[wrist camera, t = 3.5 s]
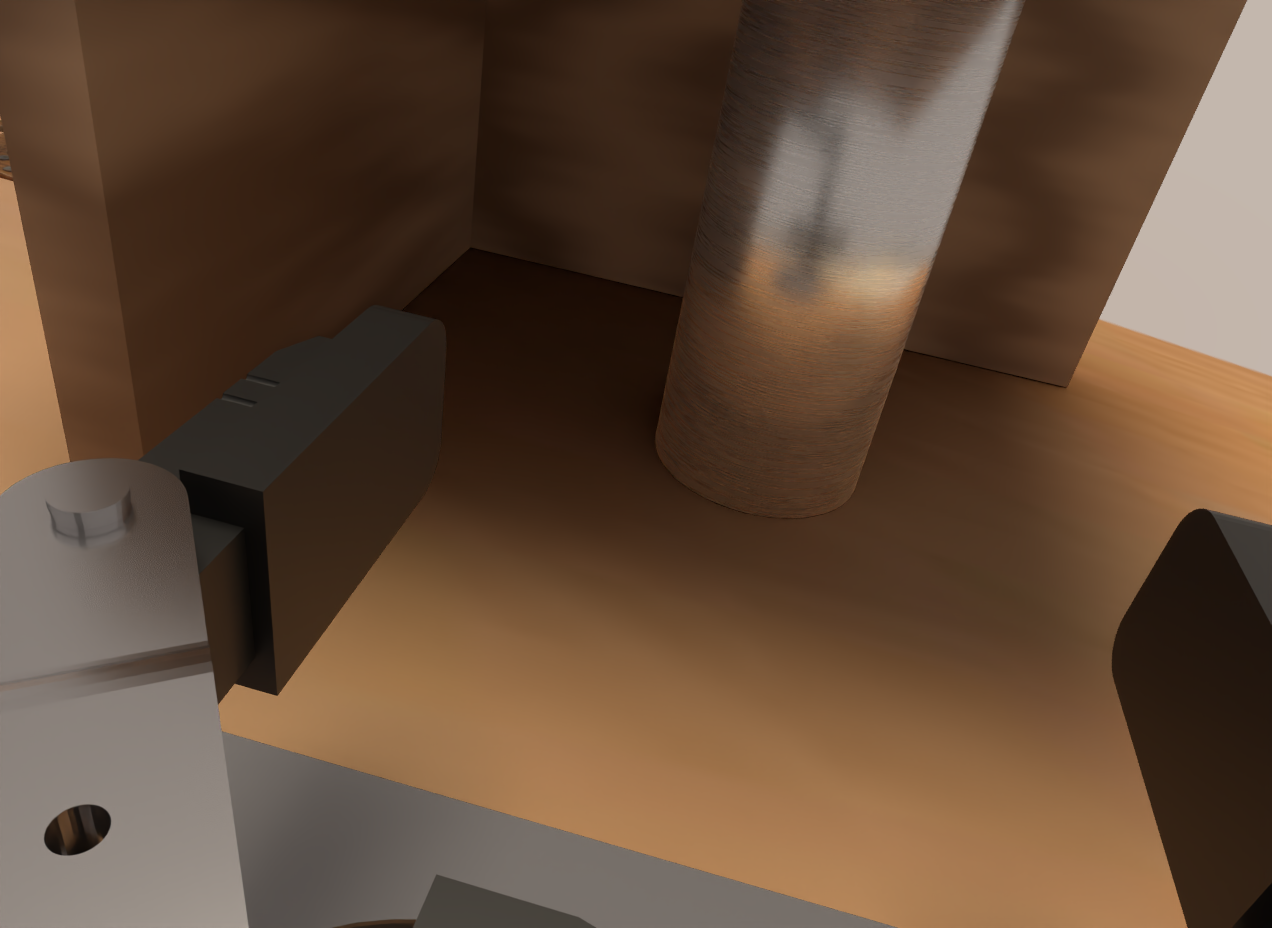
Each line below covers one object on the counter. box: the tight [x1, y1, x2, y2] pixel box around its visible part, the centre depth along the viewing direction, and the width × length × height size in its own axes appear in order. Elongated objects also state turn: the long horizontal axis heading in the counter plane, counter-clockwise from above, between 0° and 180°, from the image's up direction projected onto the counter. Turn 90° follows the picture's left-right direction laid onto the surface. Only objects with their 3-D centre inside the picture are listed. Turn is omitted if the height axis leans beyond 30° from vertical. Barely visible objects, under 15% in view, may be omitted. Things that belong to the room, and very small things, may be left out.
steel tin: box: [655, 0, 1025, 518], centre depth 20 cm, size 5×5×11 cm
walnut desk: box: [0, 0, 1247, 462], centre depth 19 cm, size 21×18×18 cm
